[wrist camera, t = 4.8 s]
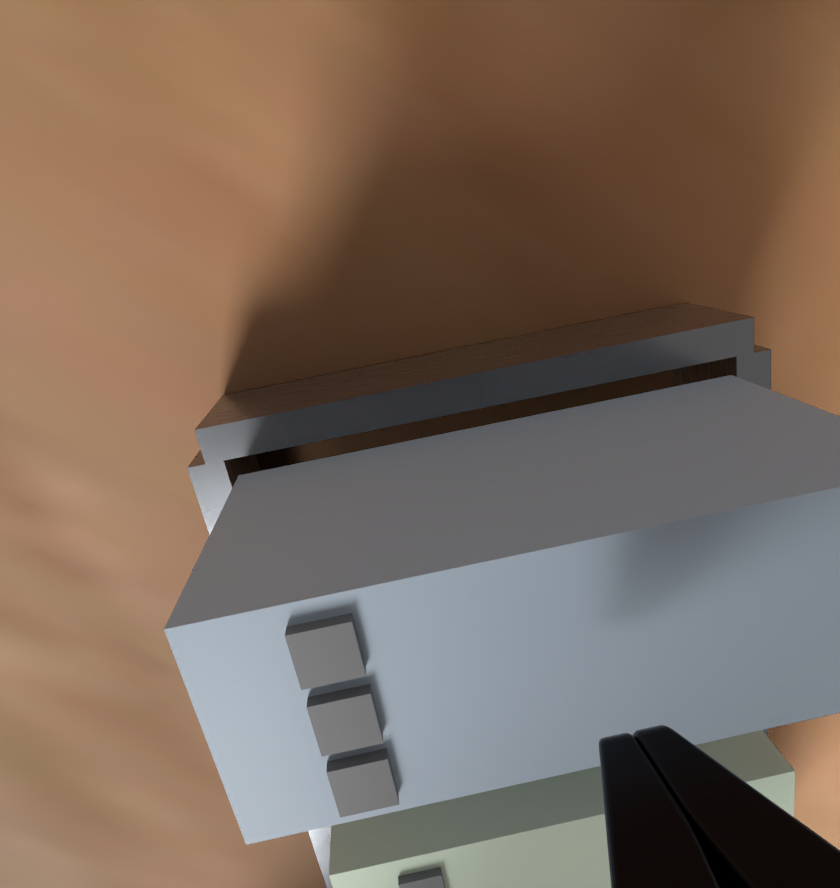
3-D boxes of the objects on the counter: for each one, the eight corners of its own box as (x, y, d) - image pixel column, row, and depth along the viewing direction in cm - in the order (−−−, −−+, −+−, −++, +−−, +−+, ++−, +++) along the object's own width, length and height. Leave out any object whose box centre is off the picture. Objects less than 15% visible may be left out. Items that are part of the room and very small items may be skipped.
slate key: (285, 629, 15) (243, 856, 9) (238, 475, 13) (159, 638, 8) (733, 533, 15) (940, 701, 10) (731, 375, 14) (971, 467, 8)
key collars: (389, 989, 24) (394, 1089, 21) (207, 398, 16) (175, 433, 13) (717, 914, 25) (764, 1002, 22) (700, 299, 17) (771, 313, 14)
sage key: (363, 797, 21) (365, 996, 15) (336, 702, 19) (328, 884, 14) (684, 726, 21) (797, 897, 16) (679, 628, 20) (800, 778, 14)
